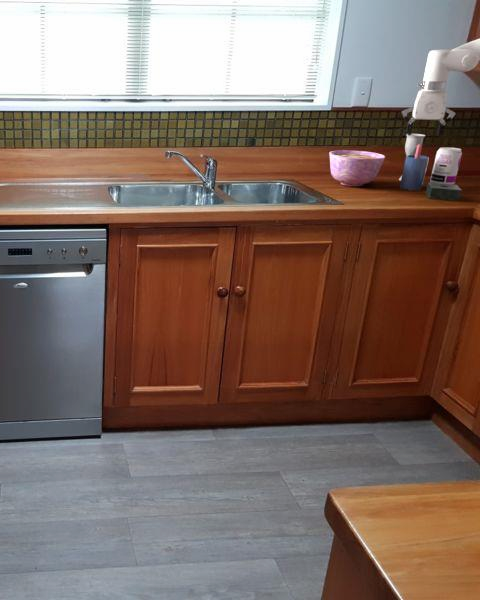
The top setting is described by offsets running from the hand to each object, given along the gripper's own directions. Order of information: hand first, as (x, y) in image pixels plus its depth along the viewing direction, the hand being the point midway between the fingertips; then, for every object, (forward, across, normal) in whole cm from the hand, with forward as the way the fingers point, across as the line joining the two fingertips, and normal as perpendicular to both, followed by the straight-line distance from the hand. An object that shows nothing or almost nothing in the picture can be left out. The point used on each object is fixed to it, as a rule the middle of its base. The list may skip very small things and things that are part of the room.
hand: (423, 135), depth 225 cm
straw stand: (+20, +8, -12) cm, 25 cm away
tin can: (+20, -1, 0) cm, 20 cm away
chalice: (+20, -1, +17) cm, 26 cm away
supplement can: (+20, +10, +5) cm, 23 cm away
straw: (+19, -1, 0) cm, 19 cm away
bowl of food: (+20, -22, -1) cm, 29 cm away
